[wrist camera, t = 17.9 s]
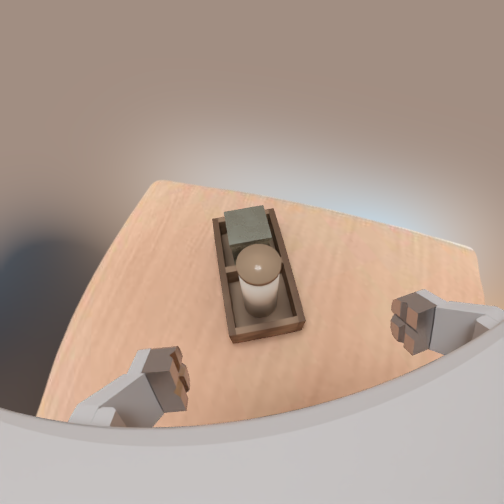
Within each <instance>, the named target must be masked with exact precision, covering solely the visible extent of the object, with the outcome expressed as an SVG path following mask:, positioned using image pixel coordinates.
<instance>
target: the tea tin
mask: <svg viewBox="0 0 504 504" xmlns="http://www.w3.org/2000/svg"><path fill="white" fill-rule="evenodd" d="M224 216H225V222H226V228H227V234H228V240H229V246H230V248H231V249H232V254H233V259H234V264H235V265H236V260H237V257H238V255H239V253H240V252H241V251H242V250H243V249H244V248H246V247H248V246H250V245H253V244H264V245H268V246H270V241H271V240H272V235H271V232H270V228H269V224H268V221H267V217H266V214H265V210H264V206H263V205H262V206H256V207H250V208H244V209H239V210H233V211H227V212H224Z"/></svg>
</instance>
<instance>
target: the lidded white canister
mask: <svg viewBox="0 0 504 504" xmlns="http://www.w3.org/2000/svg"><path fill="white" fill-rule="evenodd" d="M236 268H237V272H238V275H239V280H240V285H241V290H242V296H243V301H244V306H245V309H246V311H247V312H248V313H249V314H250V315H251V316H253V317H256V318H264V317H267V316H269V315H271V314H272V313H273V312H274V310H275V308H276V304H277V294H278V284H279V273H280V270H281V258H280V256H279V254H278V253H277V251H276V250H275V249H273V248H272V247H270V246H268V245H264V244H253V245H250V246H248V247H246V248H244V249H243V250H242V251H241V252H240V253H239V255H238V257H237V260H236Z"/></svg>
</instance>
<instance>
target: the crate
mask: <svg viewBox="0 0 504 504" xmlns="http://www.w3.org/2000/svg"><path fill="white" fill-rule="evenodd" d="M265 214H266V217H267V221H268V224H269V228H270V232H271V235H272V240H271V241H270V247H272V248H273V249H275V250H276V251H277V253H278V254H279V256H280V258H281V270H280V273H279V284H278V294H277V304H276V308H275V310H274V312H273V313H272V314H271V315H269V316H267V317H264V318H256V317H253V316H251V315H250V314H249V313H248V312H247V311H246V309H245V306H244V301H243V296H242V290H241V285H240V280H239V275H238V272H237V268H236V265H235V264H234V259H233V254H232V249H231V248H230V246H229V240H228V234H227V228H226V222H225V217H221V218H215V219H212V220H213V228H214V236H215V243H216V251H217V258H218V265H219V272H220V279H221V286H222V293H223V299H224V306H225V312H226V319H227V325H228V331H229V336H230V338H231V340H232V342H233V343H239V342H245V341H250V340H256V339H261V338H266V337H271V336H276V335H281V334H285V333H290V332H295V331H299V330H302V328H303V325H304V323H305V321H306V320H305V317H304V313H303V309H302V305H301V302H300V298H299V294H298V291H297V287H296V284H295V280H294V277H293V273H292V269H291V266H290V262H289V259H288V255H287V252H286V249H285V245H284V242H283V238H282V235H281V232H280V228H279V225H278V222H277V218H276V215H275V212H274V208H273V209H267V210H265Z"/></svg>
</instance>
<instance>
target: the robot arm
mask: <svg viewBox="0 0 504 504" xmlns="http://www.w3.org/2000/svg"><path fill="white" fill-rule="evenodd" d="M391 311H392V312H393V313H394V316H393V317H392V319H391V332H392V335H393V337H394V338H395V339H396V340H397V341H398V342H402V343H404V348H405V349H406V350H407V351H408V352H409V353H410V354H411V355H415V354H417V353H420V352H422V351H425V350H427V349H429V350H432V351H435V352H438V353H440V354H443V355H444V356H442V357H440V358H438V359H436V360H434V361H432V362H430V363H428V364H426V365H424V366H422V367H420V368H418V369H415V370H413V371H411V372H409V373H406V374H404V375H402V376H399V377H397V378H394V379H392V380H389V381H387V382H384V383H382V384H379V385H377V386H374V387H371V388H368V389H366V390H363V391H360V392H357V393H354V394H351V395H348V396H345V397H341V398H338V399H335V400H331V401H328V402H325V403H321V404H317V405H314V406H310V407H306V408H302V409H298V410H293V411H289V412H284V413H280V414H275V415H270V416H264V417H259V418H253V419H247V420H240V421H233V422H226V423H217V424H208V425H197V426H182V427H153V426H154V425H155V423H156V422H157V421H158V420H159V419H160V418H161V417H162V415H163V414H164V413H167V412H178V411H187V404H188V396H187V394H186V393H187V392H188V391H189V389H190V378H189V373H188V370H187V367H186V365H184V364H183V363H182V357H183V356H182V353H181V350H180V348H179V347H178V346H173V347H163V348H153V349H151V348H150V349H142V350H138V352H137V354H136V356H135V358H134V360H133V362H132V364H131V366H130V369H129V371H128V373H127V374H123V375H122V376H120V377H119V378H117V379H116V380H114V381H113V382H111V383H110V384H108V385H107V386H105V387H104V388H102V389H100V390H99V391H97V392H96V393H94V394H93V395H91V396H90V397H88V398H87V399H85V400H84V401H82V402H81V403H79V404H77V406H76V408H75V410H74V412H73V413H72V415H71V417H70V419H69V421H68V422H63V421H56V420H50V419H45V418H40V417H34V416H30V415H25V414H21V413H17V412H13V411H10V410H6V409H3V408H0V504H504V310H502V309H500V308H498V307H496V306H487V305H478V304H470V303H461V302H453V301H449V302H446V301H445V300H443V299H441V298H439V297H438V296H436V295H434V294H432V293H431V292H429V291H427V290H425V289H422V290H419V291H417V292H414V293H411V294H409V295H406V296H403V297H400V298H397V299H395V300H393V302H392V307H391ZM152 427H153V428H152Z"/></svg>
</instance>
